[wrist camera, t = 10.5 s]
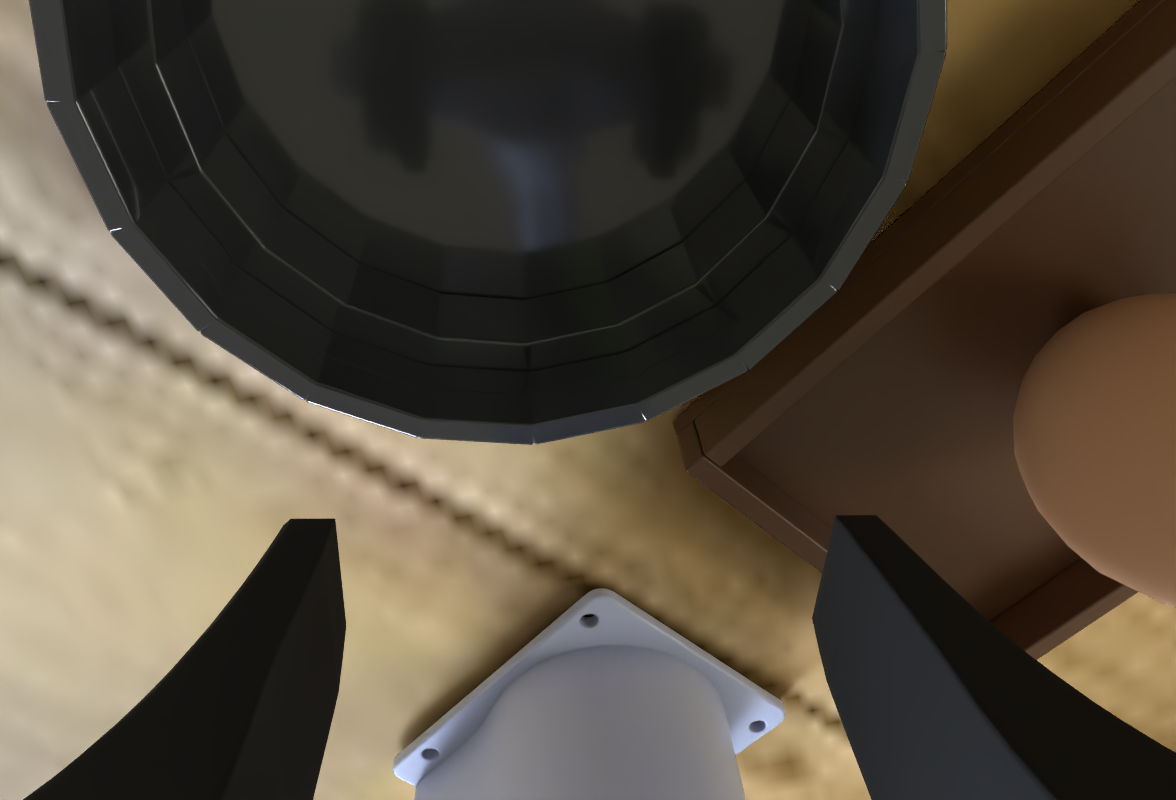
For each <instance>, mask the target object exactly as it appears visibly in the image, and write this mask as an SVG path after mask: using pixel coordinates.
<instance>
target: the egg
mask: <svg viewBox="0 0 1176 800" xmlns="http://www.w3.org/2000/svg"><path fill="white" fill-rule="evenodd" d="M1013 431H1014V453H1015V457H1016V461H1017V464H1018V468H1019V471H1020V473H1021V475H1022V478H1023V480H1024V483H1025V485H1026V488H1027V490H1028V492H1029V494H1030V496H1031V498H1032V500H1033V502H1034V504H1035V505H1036V507H1037V509H1038V511H1039V512H1040V513H1041V515H1042V516H1043V517H1044V518H1045V519H1046V521H1047V522H1048V523H1049V524H1050V525H1051V526H1052V528H1053V529H1054V530H1055V531H1056V532H1057V534H1058V535H1059V536H1060V537H1061V538H1062V540H1063V541H1064V542H1065V543H1066V544H1067V545H1068V546H1069V547H1070V548H1071V549H1072V550H1073V551H1074V552H1076V553H1077V554H1078V555H1079V556H1080V557H1081V558H1083V559H1084V560H1085V561H1086V562H1087V563H1088V564H1090V565H1091V566H1092V567H1093V568H1094V569H1095V570H1097V571H1098V572H1099V573H1101V574H1103V575H1105V576H1107V577H1109V578H1111V579H1114V580H1116V581H1118V582H1120V583H1122V584H1124V585H1126V586H1128V587H1130V588H1132V589H1134V590H1136V591H1138V592H1140V593H1142V594H1144V595H1146V596H1148V597H1150V598H1152V599H1154V600H1157V601H1159V602H1161V603H1163V604H1166V605H1170V606H1173V607H1176V293H1175V294H1148V295H1141V296H1134V297H1127V298H1123V299H1119V300H1116V301H1113V302H1111V303H1108V304H1105V305H1103V306H1100V307H1097V308H1095V309H1092V310H1089V311H1087V312H1084V313H1082V314H1081V315H1080V316H1078V317H1077V318H1075V319H1074V320H1073V321H1071V322H1070V323H1068V324H1067V325H1065V326H1064V327H1063V328H1061V329H1060V330H1058V331H1057V332H1056V333H1055V334H1054V335H1053V336H1052V337H1051V338H1050V340H1049V341H1048V342H1047V343H1046V344H1045V345H1044V346H1043V347H1042V349H1041V350H1040V351H1039V352H1038V353H1037V354H1036V355H1035V357H1034V359H1033V361H1032V362H1031V364H1030V366H1029V368H1028V370H1027V372H1026V374H1025V375H1024V377H1023V379H1022V382H1021V386H1020V390H1019V394H1018V398H1017V402H1016V406H1015V410H1014V413H1013Z"/></svg>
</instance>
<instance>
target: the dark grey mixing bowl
mask: <svg viewBox="0 0 1176 800" xmlns="http://www.w3.org/2000/svg"><path fill="white" fill-rule="evenodd" d="M29 4H30V10H31V16H32V23H33V29H34V35H35V42H36V48H37V54H38V60H39V67H40V73H41V79H42V85H43V92H44V98H45V101H47V106H48V109H49V111H50V113H51V115H52V117H53V119H54V121H55V123H56V125H57V127H58V129H59V131H60V133H61V135H62V137H63V139H64V141H65V143H66V145H67V147H68V149H69V151H70V154H71V156H72V158H73V160H74V162H75V164H76V166H77V168H78V170H79V172H80V174H81V176H82V178H83V180H84V182H85V184H86V186H87V188H88V190H89V192H90V194H91V196H92V199H93V201H94V203H95V205H96V207H97V209H98V211H99V213H100V215H101V217H102V219H103V221H104V223H105V225H106V227H107V229H108V230H109V231H111V235H112V236H113V238H114V239H115V240H116V241H117V242H118V243H119V244H120V245H121V246H122V248H123V249H124V250H125V251H126V252H127V253H128V254H129V255H130V256H131V258H132V259H133V260H134V261H135V262H136V263H137V264H138V265H139V266H140V268H141V269H142V270H143V271H144V272H145V273H146V274H147V275H148V276H149V278H150V279H151V280H152V281H153V282H154V283H155V284H156V285H157V287H158V288H159V289H160V290H161V291H162V292H163V293H164V294H165V295H166V297H167V298H168V299H169V300H170V301H171V302H172V303H173V304H174V305H175V307H176V308H177V309H178V310H179V311H180V312H181V313H182V314H183V315H184V317H185V318H186V319H187V320H188V321H189V322H190V323H191V324H192V325H193V327H194V328H195V329H196V330H197V331H199V332H200V331H201V334H202V335H203V336H205V337H206V338H208V339H209V340H211V341H212V342H214V343H216V344H217V345H219V346H220V347H222V348H223V349H225V350H226V351H228V352H229V353H231V354H233V355H234V356H236V357H237V358H239V359H240V360H242V361H243V362H245V363H247V364H248V365H250V366H251V367H253V368H254V369H256V370H257V371H259V372H260V373H262V374H264V375H265V376H267V377H268V378H270V379H271V380H273V381H274V382H276V383H277V384H279V385H281V386H282V387H284V388H285V389H287V390H288V391H290V392H291V393H293V394H295V395H296V396H298V397H299V398H301V399H302V400H306V401H307V402H308V403H312V404H315V405H318V406H321V407H324V408H327V409H330V410H333V411H336V412H339V413H342V414H345V415H348V416H352V417H355V418H358V419H361V420H364V421H367V422H370V423H373V424H376V425H379V426H382V427H385V428H389V429H392V430H395V431H398V432H401V433H404V434H407V435H410V436H413V437H420V438H423V439H440V440H458V441H475V442H493V443H510V444H528V445H532V444H533V443H535V444H540V443H545V442H550V441H555V440H560V439H565V438H570V437H575V436H580V435H585V434H590V433H594V432H599V431H604V430H609V429H614V428H619V427H624V426H629V425H634V424H639V423H643V422H644V421H645V420H646V421H649V420H651V419H653V418H655V417H657V416H659V415H661V414H663V413H665V412H667V411H669V410H671V409H673V408H675V407H677V406H679V405H681V404H683V403H685V402H687V401H689V400H691V399H693V398H695V397H697V396H699V395H701V394H703V393H705V392H707V391H709V390H711V389H713V388H715V387H717V386H719V385H721V384H723V383H725V382H727V381H729V380H731V379H733V378H735V377H737V376H739V375H741V374H743V373H745V372H747V371H748V369H751V368H753V367H754V366H755V365H756V364H757V363H758V362H759V361H760V360H761V359H763V358H764V357H765V356H766V355H767V354H768V353H769V352H770V351H772V350H773V349H774V348H775V347H776V346H777V345H778V344H779V343H781V342H782V341H783V340H784V339H785V338H786V337H787V336H788V335H790V334H791V333H792V332H793V331H794V330H795V329H796V328H797V327H798V326H800V325H801V324H802V323H803V322H804V321H805V320H806V319H807V318H809V317H810V316H811V315H812V314H813V313H814V312H815V311H816V310H818V309H819V308H820V307H821V306H822V305H823V304H824V303H825V302H827V301H828V300H829V299H830V298H831V297H832V296H833V295H834V294H835V293H836V292H837V289H840V288H841V287H842V285H843V284H844V282H845V280H846V279H847V277H848V276H849V274H850V273H851V271H852V270H853V268H854V266H855V265H856V263H857V262H858V260H859V259H860V257H861V255H862V254H863V252H864V251H865V249H866V248H867V246H868V245H869V243H870V241H871V240H872V238H873V237H874V235H875V234H876V232H877V231H878V229H879V227H880V226H881V224H882V223H883V221H884V220H885V218H886V217H887V215H888V213H889V212H890V210H891V209H892V207H893V206H894V204H895V202H896V201H897V199H898V198H899V196H900V195H901V193H902V192H903V190H904V188H905V187H906V185H907V183H906V182H908V180H909V177H910V174H911V171H912V167H913V164H914V160H915V157H916V154H917V150H918V147H919V144H920V140H921V137H922V134H923V130H924V127H925V124H926V120H927V117H928V113H929V110H930V107H931V103H932V100H933V97H934V93H935V90H936V87H937V83H938V80H939V77H940V73H941V70H942V66H943V63H944V60H945V56H946V51H945V50H947V0H29Z"/></svg>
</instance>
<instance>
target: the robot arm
mask: <svg viewBox="0 0 1176 800" xmlns="http://www.w3.org/2000/svg"><path fill="white" fill-rule="evenodd" d="M586 614H593V615H594V616H592V617H588V618H585V617H582V616H584V615H586ZM812 619H813V624H814V628H815V633H816V638H817V642H818V647H819V651H820V655H821V659H822V663H823V667H824V671H825V676H826V680H827V683H828V685H829V688H830V691H831V694H832V697H833V699H834V702H835V705H836V707H837V710H838V713H839V715H840V718H841V721H842V723H843V726H844V729H845V731H846V734H847V737H848V739H849V742H850V744H851V747H852V750H853V752H854V755H855V757H856V760H857V763H858V765H859V768H860V770H861V773H862V776H863V778H864V781H865V784H866V786H867V789H868V791H869V794H870V797H871V799H872V800H1176V753H1175V752H1173V751H1172V750H1170V749H1168V748H1166V747H1165V746H1163V745H1161V744H1160V743H1158V742H1156V741H1155V740H1153V739H1151V738H1150V737H1148V736H1147V735H1145V734H1143V733H1142V732H1140V731H1138V730H1137V729H1135V728H1133V727H1132V726H1130V725H1129V724H1127V723H1125V722H1124V721H1122V720H1120V719H1119V718H1117V717H1116V716H1114V715H1113V714H1111V713H1110V712H1108V711H1107V710H1105V709H1104V708H1102V707H1101V706H1099V705H1097V704H1096V703H1095V702H1093V701H1092V700H1090V699H1089V698H1087V697H1086V696H1085V695H1083V694H1082V693H1080V692H1079V691H1078V690H1076V689H1075V688H1073V687H1072V686H1071V685H1069V684H1068V683H1066V682H1065V681H1064V680H1062V679H1061V678H1059V677H1058V676H1057V675H1055V674H1054V673H1052V672H1051V671H1050V670H1048V669H1047V668H1046V667H1045V666H1043V665H1042V664H1041V663H1039V662H1038V661H1037V660H1035V659H1034V658H1033V657H1032V656H1030V655H1029V654H1028V653H1027V652H1026V651H1024V650H1023V649H1022V648H1021V647H1019V646H1018V645H1017V644H1016V643H1015V642H1013V641H1012V640H1011V639H1010V638H1009V637H1007V636H1006V635H1005V634H1004V633H1002V632H1001V631H1000V630H999V629H998V628H996V627H995V626H994V625H993V624H992V623H991V622H990V621H988V620H987V619H986V618H985V617H984V616H983V615H982V614H980V613H979V612H978V611H977V610H976V609H975V608H974V607H973V606H972V605H970V604H969V603H968V602H967V601H966V600H965V599H964V598H963V597H962V596H961V595H960V594H958V593H957V592H956V591H955V590H954V589H953V588H952V587H951V586H950V585H949V584H948V583H947V582H946V581H945V580H943V579H942V578H941V577H940V576H939V575H938V574H937V573H936V572H935V571H934V570H933V569H932V568H931V567H930V566H929V565H928V564H927V563H926V562H925V561H924V560H923V559H922V558H921V557H920V556H919V555H917V554H916V553H915V552H914V551H913V550H912V549H911V548H910V547H909V546H908V545H907V544H906V543H905V542H904V541H903V540H902V539H901V538H900V537H899V536H898V535H897V534H896V533H895V532H894V531H893V530H892V529H891V528H890V527H889V526H888V525H887V524H885V523H884V522H883V521H882V520H881V519H880V518H879V517H878V516H877V515H836V516H835V521H834V525H833V529H832V534H831V538H830V542H829V547H828V551H827V556H826V560H825V564H824V569H823V573H822V577H821V582H820V586H819V591H818V595H817V599H816V604H815V608H814V612H813V617H812ZM345 631H346V619H345V609H344V600H343V590H342V581H341V571H340V561H339V552H338V542H337V533H336V523H335V519H290V520H289V521H288V522H287V523H286V524H285V525H283V527H282V528H281V530H280V532H279V533H278V535H277V536H276V538H275V539H274V541H273V542H272V544H271V545H270V547H269V548H268V550H267V551H266V552H265V554H264V555H263V557H262V558H261V560H260V561H259V562H258V564H257V565H256V567H255V568H254V569H253V571H252V572H251V574H250V575H249V576H248V578H247V579H246V580H245V582H244V583H243V584H242V586H241V587H240V588H239V590H238V591H237V592H236V593H235V595H234V596H233V597H232V599H231V600H230V601H229V602H228V604H227V605H226V606H225V607H224V609H223V610H222V611H221V613H220V614H219V615H218V616H217V618H216V619H215V620H214V621H213V623H212V624H211V625H210V626H209V627H208V629H207V630H206V631H205V632H204V633H203V634H202V636H201V637H200V638H199V639H198V640H197V641H196V642H195V644H194V645H193V646H192V647H191V648H190V649H189V650H188V651H187V653H186V654H185V655H184V656H183V657H182V658H181V659H180V661H179V662H178V663H177V664H176V665H175V666H174V667H173V668H172V669H171V671H170V672H169V673H168V674H167V675H166V676H165V677H164V678H163V679H162V680H161V681H160V682H159V683H158V684H157V685H156V686H155V687H154V688H153V689H152V690H151V691H150V692H149V693H148V694H147V695H146V696H145V697H144V698H143V699H142V700H141V701H140V702H139V703H138V704H137V705H136V706H135V707H134V708H133V709H132V710H131V711H130V712H129V713H128V714H127V715H126V716H124V717H123V718H122V719H121V720H120V721H119V722H118V723H117V724H116V725H115V726H114V727H112V728H111V729H110V730H109V731H108V732H107V733H106V734H104V735H103V736H102V737H101V738H100V739H99V740H97V741H96V742H95V743H94V744H93V745H92V746H91V747H89V748H88V749H87V750H86V751H85V752H84V753H83V754H81V755H80V756H79V757H78V758H77V759H75V760H74V761H73V762H72V763H71V764H69V765H68V766H67V767H66V768H64V769H63V770H62V771H61V772H59V773H58V774H57V775H56V776H54V777H53V778H52V779H51V780H49V781H48V782H46V783H45V784H44V785H42V786H41V787H40V788H38V789H37V790H36V791H34V792H33V793H32V794H30V795H29V796H27V797H26V798H25V799H23V800H313V797H314V793H315V789H316V785H317V780H318V776H319V772H320V768H321V764H322V760H323V755H324V751H325V747H326V743H327V739H328V735H329V730H330V726H331V722H332V718H333V713H334V709H335V705H336V700H337V696H338V692H339V684H340V676H341V667H342V659H343V650H344V641H345ZM785 715H786V714H785V710H784V706H783V703H782V702H781V701H780V700H779V699H778V698H776V697H775V696H773V695H772V694H770V693H769V692H767V691H766V690H764V689H762V688H761V687H759V686H758V685H756V684H755V683H753V682H752V681H750V680H749V679H747V678H746V677H744V676H742V675H741V674H739V673H738V672H736V671H735V670H733V669H732V668H730V667H729V666H727V665H726V664H724V663H722V662H721V661H719V660H718V659H716V658H715V657H713V656H712V655H710V654H709V653H707V652H706V651H704V650H702V649H701V648H699V647H698V646H696V645H695V644H693V643H692V642H690V641H689V640H687V639H686V638H684V637H682V636H681V635H679V634H678V633H676V632H675V631H673V630H672V629H670V628H669V627H667V626H666V625H664V624H662V623H661V622H659V621H658V620H656V619H655V618H653V617H652V616H650V615H649V614H647V613H646V612H644V611H643V610H641V609H639V608H638V607H636V606H635V605H633V604H632V603H630V602H629V601H627V600H626V599H624V598H623V597H621V596H619V595H618V594H616V593H615V592H613V591H611V590H609V589H604V588H598V589H594V590H592V591H590V592H588V593H587V594H586V595H584V596H583V597H582V598H581V599H580V600H579V601H577V602H576V603H575V604H574V605H573V606H571V607H570V608H569V609H568V610H567V611H566V612H564V613H563V614H562V615H561V616H560V617H559V618H557V619H556V620H555V621H554V622H553V623H552V624H550V625H549V626H548V627H547V628H546V629H544V630H543V631H542V632H541V633H540V634H539V635H537V636H536V637H535V638H534V639H533V640H532V641H530V642H529V643H528V644H527V645H526V646H525V647H523V648H522V649H521V650H520V651H519V652H517V653H516V654H515V655H514V656H513V657H512V658H510V659H509V660H508V661H507V662H506V663H505V664H503V665H502V666H501V667H500V668H499V669H498V670H496V671H495V672H494V673H493V674H492V675H491V676H489V677H488V678H487V679H486V680H485V681H483V682H482V683H481V684H480V685H479V686H478V687H476V688H475V689H474V690H473V691H472V692H471V693H469V694H468V695H467V696H466V697H465V698H464V699H462V700H461V701H460V702H459V703H458V704H456V705H455V706H454V707H453V708H452V709H451V710H449V711H448V712H447V713H446V714H445V715H444V716H442V717H441V718H440V719H439V720H438V721H437V722H435V723H434V724H433V725H432V726H431V727H429V728H428V729H427V730H426V731H425V732H424V733H422V734H421V735H420V736H419V737H418V738H417V739H415V740H414V741H413V742H412V743H411V744H410V745H408V746H407V747H406V748H405V749H404V750H402V751H401V752H400V753H399V754H398V755H397V756H396V757H395V759H394V767H393V772H394V774H395V775H396V776H397V777H398V778H400V779H402V780H404V781H406V782H408V783H410V784H412V785H414V786H416V788H415V800H746V798H745V794H744V789H743V785H742V781H741V777H740V772H739V768H738V764H737V759H736V754H738V753H739V752H741V751H742V750H743V749H745V748H746V747H748V746H749V745H750V744H752V743H753V742H755V741H756V740H757V739H759V738H760V737H762V736H763V735H764V734H766V733H767V732H769V731H770V730H771V729H773V728H774V727H776V726H777V725H778V724H780V723H781V722H782V721H783V720H784V718H785ZM754 721H755V722H754ZM428 748H433V749H428Z"/></svg>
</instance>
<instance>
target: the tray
mask: <svg viewBox="0 0 1176 800" xmlns="http://www.w3.org/2000/svg"><path fill="white" fill-rule="evenodd" d="M1175 293H1176V0H1141V1H1140V2H1139V3H1138V4H1137V5H1136V6H1135V7H1133V8H1132V9H1131V10H1130V11H1129V12H1128V13H1127V14H1126V15H1125V16H1123V17H1122V18H1121V19H1120V20H1119V21H1118V22H1117V23H1116V24H1115V25H1113V26H1112V27H1111V28H1110V29H1109V30H1108V31H1107V32H1106V33H1105V34H1103V35H1102V36H1101V37H1100V38H1099V39H1098V40H1097V41H1096V42H1094V43H1093V44H1092V45H1091V46H1090V47H1089V48H1088V49H1087V50H1086V51H1084V52H1083V53H1082V54H1081V55H1080V56H1079V57H1078V58H1077V59H1076V60H1074V61H1073V62H1072V63H1071V64H1070V65H1069V66H1068V67H1067V68H1066V69H1064V70H1063V71H1062V72H1061V73H1060V74H1059V75H1058V76H1057V77H1056V78H1054V79H1053V80H1052V81H1051V82H1050V83H1049V84H1048V85H1047V86H1046V87H1044V88H1043V89H1042V90H1041V91H1040V92H1039V93H1038V94H1037V95H1036V96H1034V97H1033V98H1032V99H1031V100H1030V101H1029V102H1028V103H1027V104H1026V105H1024V106H1023V107H1022V108H1021V109H1020V110H1019V111H1018V112H1017V113H1016V114H1014V115H1013V116H1012V117H1011V118H1010V119H1009V120H1008V121H1007V122H1006V123H1004V124H1003V125H1002V126H1001V127H1000V128H999V129H998V130H997V131H996V132H994V133H993V134H992V135H991V136H990V137H989V138H988V139H987V140H986V141H984V142H983V143H982V144H981V145H980V146H979V147H978V148H977V149H976V150H974V151H973V152H972V153H971V154H970V155H969V156H968V157H967V158H966V159H964V160H963V161H962V162H961V163H960V164H959V165H958V166H957V167H956V168H954V169H953V170H952V171H951V172H950V173H949V174H948V175H947V176H946V177H944V178H943V179H942V180H941V181H940V182H939V183H938V184H937V185H936V186H934V187H933V188H932V189H931V190H930V191H929V192H928V193H927V194H926V195H924V196H923V197H922V198H921V199H920V200H919V201H918V202H917V203H916V204H914V205H913V206H912V207H911V208H910V209H909V210H908V211H907V212H906V213H904V214H903V215H902V216H901V217H900V218H899V219H898V220H897V221H896V222H894V223H893V224H892V225H891V226H890V227H889V228H888V229H887V230H886V231H884V232H883V233H882V234H881V235H880V236H879V237H878V238H877V239H876V240H874V241H873V242H872V243H871V244H870V245H869V246H868V247H867V248H866V249H865V251H864V252H863V254H862V255H861V257H860V259H859V260H858V262H857V263H856V265H855V266H854V268H853V270H852V271H851V273H850V274H849V276H848V277H847V279H846V280H845V282H844V284H843V285H842V287H841V288H840V289H837V292H836V293H835V294H834V295H833V296H832V297H831V298H830V299H829V300H828V301H827V302H825V303H824V304H823V305H822V306H821V307H820V308H819V309H818V310H816V311H815V312H814V313H813V314H812V315H811V316H810V317H809V318H807V319H806V320H805V321H804V322H803V323H802V324H801V325H800V326H798V327H797V328H796V329H795V330H794V331H793V332H792V333H791V334H790V335H788V336H787V337H786V338H785V339H784V340H783V341H782V342H781V343H779V344H778V345H777V346H776V347H775V348H774V349H773V350H772V351H770V352H769V353H768V354H767V355H766V356H765V357H764V358H763V359H761V360H760V361H759V362H758V363H757V364H756V365H755V366H754V367H753V368H751V369H748V371H747V372H745V373H743V374H741V375H739V376H737V377H735V378H733V379H731V380H729V381H727V382H725V383H723V384H721V385H719V386H717V387H715V388H713V389H711V390H709V391H707V392H706V393H704V394H703V395H702V396H701V397H700V398H699V399H698V400H697V401H696V402H694V403H693V404H692V405H691V406H690V407H689V408H688V409H687V410H686V411H684V412H683V413H682V414H681V415H680V416H679V417H678V418H677V419H676V420H674V422H673V425H674V429H675V433H676V435H677V439H678V443H679V447H680V451H681V455H682V459H683V462H684V466H685V470H686V472H688V473H689V474H690V475H692V476H693V477H694V478H696V479H697V480H698V481H700V482H701V483H702V484H704V485H705V486H706V487H708V488H709V489H710V490H712V491H713V492H714V493H716V494H717V495H718V496H720V497H721V498H722V499H724V500H725V501H726V502H728V503H729V504H730V505H732V506H733V507H734V508H736V509H737V510H738V511H740V512H741V513H742V514H744V515H745V516H746V517H748V518H749V519H750V520H752V521H753V522H755V523H756V524H757V525H759V526H760V527H761V528H763V529H764V530H765V531H767V532H768V533H769V534H771V535H772V536H773V537H775V538H776V539H777V540H779V541H780V542H781V543H783V544H784V545H785V546H787V547H788V548H789V549H791V550H792V551H793V552H795V553H796V554H797V555H799V556H800V557H801V558H803V559H804V560H805V561H807V562H808V563H809V564H811V565H812V566H813V567H815V568H816V569H817V570H819V571H820V572H821V573H823V569H824V564H825V560H826V556H827V551H828V547H829V542H830V538H831V534H832V529H833V525H834V521H835V516H836V515H877V516H878V517H879V518H880V519H881V520H882V521H883V522H884V523H885V524H887V525H888V526H889V527H890V528H891V529H892V530H893V531H894V532H895V533H896V534H897V535H898V536H899V537H900V538H901V539H902V540H903V541H904V542H905V543H906V544H907V545H908V546H909V547H910V548H911V549H912V550H913V551H914V552H915V553H916V554H917V555H919V556H920V557H921V558H922V559H923V560H924V561H925V562H926V563H927V564H928V565H929V566H930V567H931V568H932V569H933V570H934V571H935V572H936V573H937V574H938V575H939V576H940V577H941V578H942V579H943V580H945V581H946V582H947V583H948V584H949V585H950V586H951V587H952V588H953V589H954V590H955V591H956V592H957V593H958V594H960V595H961V596H962V597H963V598H964V599H965V600H966V601H967V602H968V603H969V604H970V605H972V606H973V607H974V608H975V609H976V610H977V611H978V612H979V613H980V614H982V615H983V616H984V617H985V618H986V619H987V620H988V621H990V622H991V623H992V624H993V625H994V626H995V627H996V628H998V629H999V630H1000V631H1001V632H1002V633H1004V634H1005V635H1006V636H1007V637H1009V638H1010V639H1011V640H1012V641H1013V642H1015V643H1016V644H1017V645H1018V646H1019V647H1021V648H1022V649H1023V650H1024V651H1026V652H1027V653H1028V654H1029V655H1030V656H1032V657H1033V658H1034V659H1035V660H1037V659H1038V658H1040V657H1041V656H1043V655H1044V654H1046V653H1047V652H1049V651H1050V650H1052V649H1053V648H1055V647H1056V646H1058V645H1059V644H1061V643H1062V642H1064V641H1065V640H1067V639H1068V638H1070V637H1071V636H1073V635H1074V634H1076V633H1077V632H1079V631H1080V630H1082V629H1083V628H1085V627H1086V626H1088V625H1089V624H1091V623H1092V622H1094V621H1095V620H1097V619H1098V618H1100V617H1101V616H1103V615H1104V614H1106V613H1107V612H1109V611H1110V610H1112V609H1113V608H1115V607H1116V606H1118V605H1119V604H1121V603H1122V602H1124V601H1125V600H1127V599H1128V598H1130V597H1131V596H1133V595H1134V594H1136V593H1137V592H1138V591H1136V590H1134V589H1132V588H1130V587H1128V586H1126V585H1124V584H1122V583H1120V582H1118V581H1116V580H1114V579H1111V578H1109V577H1107V576H1105V575H1103V574H1101V573H1099V572H1098V571H1097V570H1095V569H1094V568H1093V567H1092V566H1091V565H1090V564H1088V563H1087V562H1086V561H1085V560H1084V559H1083V558H1081V557H1080V556H1079V555H1078V554H1077V553H1076V552H1074V551H1073V550H1072V549H1071V548H1070V547H1069V546H1068V545H1067V544H1066V543H1065V542H1064V541H1063V540H1062V538H1061V537H1060V536H1059V535H1058V534H1057V532H1056V531H1055V530H1054V529H1053V528H1052V526H1051V525H1050V524H1049V523H1048V522H1047V521H1046V519H1045V518H1044V517H1043V516H1042V515H1041V513H1040V512H1039V511H1038V509H1037V507H1036V505H1035V504H1034V502H1033V500H1032V498H1031V496H1030V494H1029V492H1028V490H1027V488H1026V485H1025V483H1024V480H1023V478H1022V475H1021V473H1020V471H1019V468H1018V464H1017V461H1016V457H1015V453H1014V431H1013V413H1014V410H1015V406H1016V402H1017V398H1018V394H1019V390H1020V386H1021V382H1022V379H1023V377H1024V375H1025V374H1026V372H1027V370H1028V368H1029V366H1030V364H1031V362H1032V361H1033V359H1034V357H1035V355H1036V354H1037V353H1038V352H1039V351H1040V350H1041V349H1042V347H1043V346H1044V345H1045V344H1046V343H1047V342H1048V341H1049V340H1050V338H1051V337H1052V336H1053V335H1054V334H1055V333H1056V332H1057V331H1058V330H1060V329H1061V328H1063V327H1064V326H1065V325H1067V324H1068V323H1070V322H1071V321H1073V320H1074V319H1075V318H1077V317H1078V316H1080V315H1081V314H1082V313H1084V312H1087V311H1089V310H1092V309H1095V308H1097V307H1100V306H1103V305H1105V304H1108V303H1111V302H1113V301H1116V300H1119V299H1123V298H1127V297H1134V296H1141V295H1148V294H1175Z"/></svg>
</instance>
